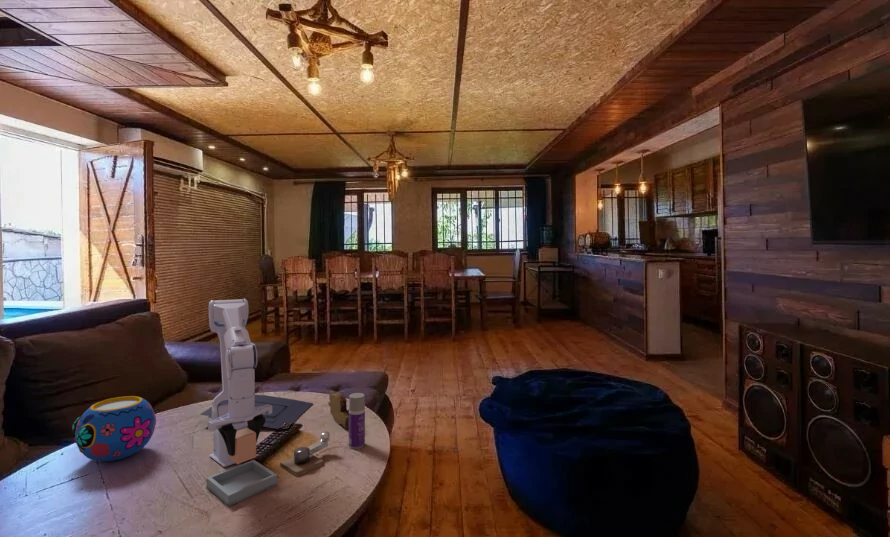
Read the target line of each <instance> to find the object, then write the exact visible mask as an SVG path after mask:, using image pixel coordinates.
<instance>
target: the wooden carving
mask: <svg viewBox="0 0 890 537" xmlns="http://www.w3.org/2000/svg"><path fill="white" fill-rule="evenodd" d="M328 396H329V398H328V399H329V401H328V406H329V407H330V410H329V411H330V414H331V416H332V418H333V420H334V421H335V422H336V425H339V426H341V425H342V427H343V428H344V429H346V428H349V409H348V408H347V406H348V405H347V402H348V401H347V398H346V396H344V395H343V394H341V393H340V392H333V393H332V392H331V393H329V394H328Z"/></svg>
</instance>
